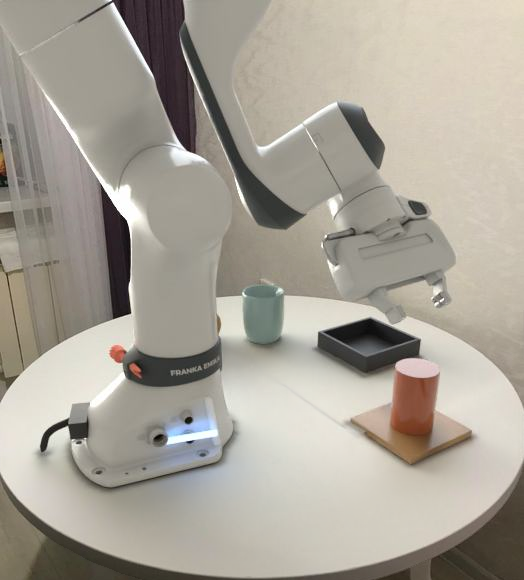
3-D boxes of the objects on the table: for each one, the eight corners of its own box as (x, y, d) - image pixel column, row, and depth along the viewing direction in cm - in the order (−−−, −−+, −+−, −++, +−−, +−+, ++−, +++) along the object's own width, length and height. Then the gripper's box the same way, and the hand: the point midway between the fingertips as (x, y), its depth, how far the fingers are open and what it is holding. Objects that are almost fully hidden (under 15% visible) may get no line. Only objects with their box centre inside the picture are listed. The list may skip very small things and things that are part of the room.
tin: (364, 376, 99) (366, 357, 98) (317, 349, 109) (317, 331, 108) (419, 357, 106) (421, 339, 104) (369, 333, 116) (370, 316, 114)
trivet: (410, 464, 77) (411, 458, 76) (349, 423, 86) (350, 418, 86) (471, 436, 83) (472, 430, 82) (408, 400, 92) (409, 395, 91)
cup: (236, 345, 111) (235, 295, 107) (253, 330, 118) (252, 282, 114) (275, 351, 109) (275, 300, 104) (289, 335, 115) (290, 287, 111)
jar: (411, 440, 80) (418, 382, 76) (380, 420, 85) (385, 365, 81) (441, 427, 83) (450, 370, 79) (410, 408, 88) (416, 354, 84)
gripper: (329, 221, 71) (384, 320, 68) (434, 202, 83) (485, 286, 80) (303, 249, 76) (353, 343, 73) (406, 227, 88) (452, 307, 85)
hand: (423, 313), depth 77 cm, fingers open, 8 cm apart
